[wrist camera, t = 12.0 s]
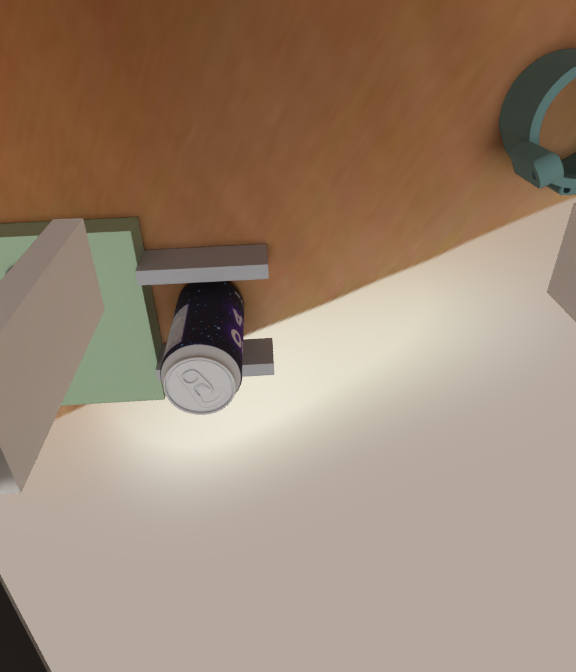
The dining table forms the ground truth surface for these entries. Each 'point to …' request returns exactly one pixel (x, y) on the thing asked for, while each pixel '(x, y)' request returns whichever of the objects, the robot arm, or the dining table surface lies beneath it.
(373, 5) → the dining table surface
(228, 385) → the beverage can
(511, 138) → the bracket
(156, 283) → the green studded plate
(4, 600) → the robot arm
